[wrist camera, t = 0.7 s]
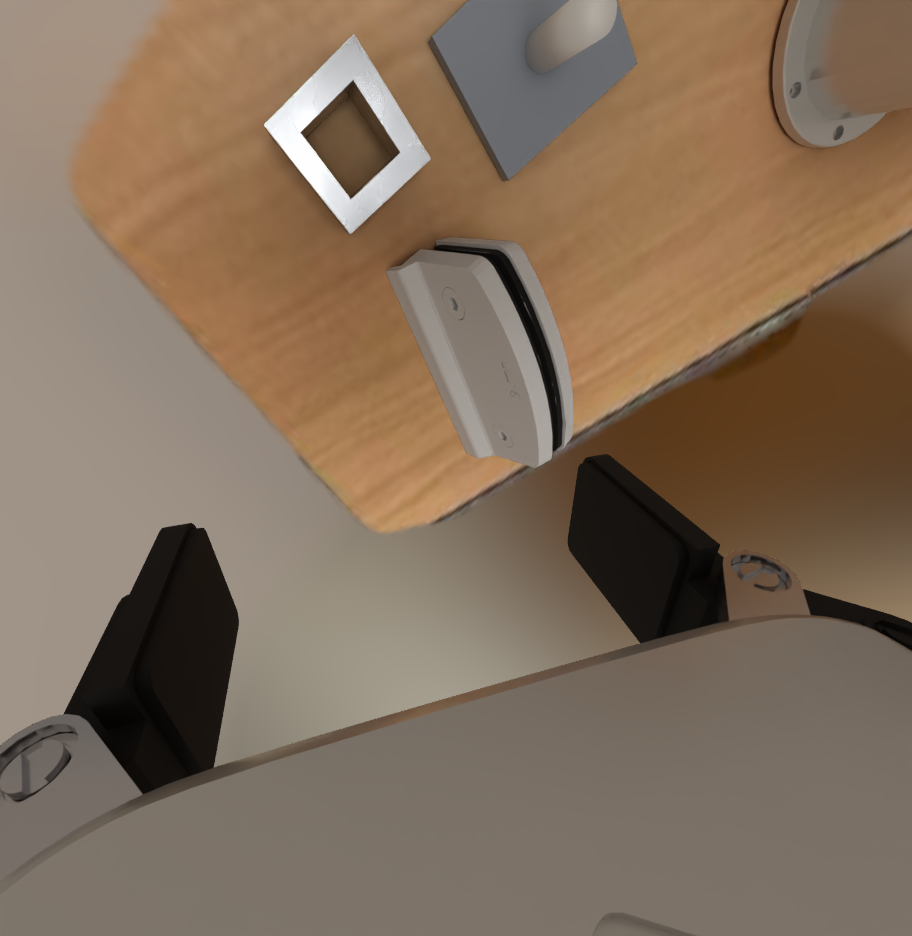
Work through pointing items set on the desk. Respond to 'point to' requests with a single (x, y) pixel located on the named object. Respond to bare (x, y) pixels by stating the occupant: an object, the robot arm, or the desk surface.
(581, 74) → the keeper
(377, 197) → the grey square hollow block
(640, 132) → the desk surface
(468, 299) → the grey slotted holder
